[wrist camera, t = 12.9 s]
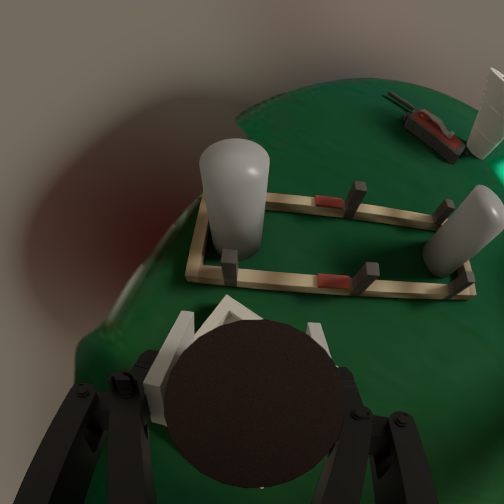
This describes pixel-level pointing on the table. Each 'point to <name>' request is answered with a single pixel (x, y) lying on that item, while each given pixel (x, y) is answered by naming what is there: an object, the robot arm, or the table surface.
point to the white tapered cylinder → (489, 118)
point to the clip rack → (328, 283)
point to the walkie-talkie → (432, 131)
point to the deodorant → (254, 403)
